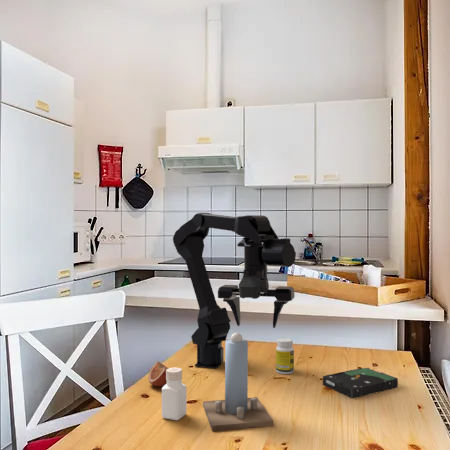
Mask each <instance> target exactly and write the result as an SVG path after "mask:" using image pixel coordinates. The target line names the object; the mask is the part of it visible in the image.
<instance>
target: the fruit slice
mask: <svg viewBox="0 0 450 450" xmlns="http://www.w3.org/2000/svg"><path fill="white" fill-rule="evenodd" d="M169 368H170V367H167V366H166V365H165V364H164V363H161V362H160V361H159V360H156V361H155V363H154V364H153V365H152V366H151V367H150V370H149V374H148V377H147V378H148V382H149V384H151V385H152V386H154V387H158V388H159V387H163V386H165V385H166V384H167V380H166V370H167V369H169Z"/></svg>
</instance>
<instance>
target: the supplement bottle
mask: <svg viewBox="0 0 450 450" xmlns="http://www.w3.org/2000/svg"><path fill="white" fill-rule="evenodd" d="M276 341H277V342H276V343H277V346H276V347H275V371H276V373H278V374H281V375H290V374H293V373H294V372H295V348H294V347H293V343H294V342H293V339H291V338H288V337H287V338H286V337H281V338H278V339H277V340H276Z"/></svg>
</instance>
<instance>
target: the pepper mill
mask: <svg viewBox="0 0 450 450" xmlns="http://www.w3.org/2000/svg"><path fill="white" fill-rule="evenodd" d="M248 342H249V341H248V340H246V339H243V335H242V334H241V333H239V332H234V333H232V335H231V336H230V338H229V339H226V340H225V341H224V343H225V345H224V350H225V351H224V354H225V355H224V361H225V362H224V367H225V368H224V370H225V371H224V387H225V388H224V400H225V411H226V412H227V413H229V414H233V415H237V407H240V406H241V407H244V413H246V412H247V402H248V398H249V397H248V396H249V395H248V392H249V391H248V390H249V389H248V388H249V387H248V384H249V383H248V382H249V379H248V378H249V377H248V374H249V373H248V371H249V369H248V368H249V367H248V366H249V365H248V364H249V363H248V362H249V360H248V359H249V353H248V352H249V343H248Z"/></svg>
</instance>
